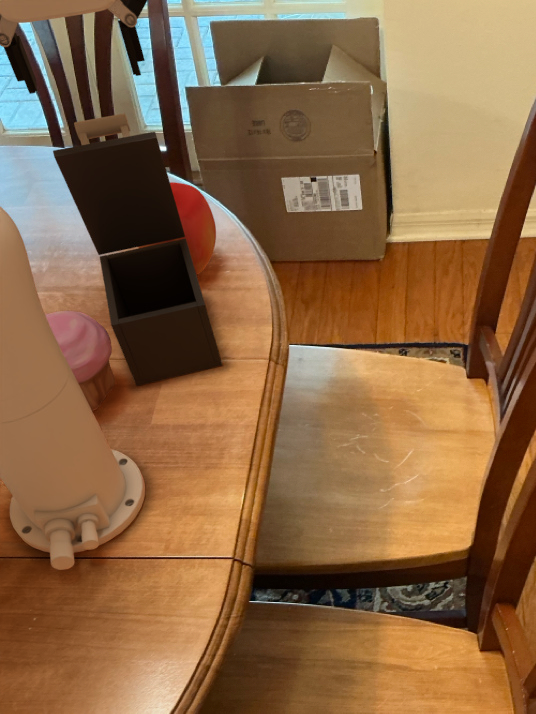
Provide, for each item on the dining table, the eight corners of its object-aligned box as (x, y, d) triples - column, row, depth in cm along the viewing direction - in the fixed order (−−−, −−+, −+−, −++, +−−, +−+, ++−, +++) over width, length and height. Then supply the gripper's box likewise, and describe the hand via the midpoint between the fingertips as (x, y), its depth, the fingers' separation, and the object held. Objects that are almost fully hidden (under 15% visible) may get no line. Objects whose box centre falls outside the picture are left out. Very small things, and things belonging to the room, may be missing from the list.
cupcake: (103, 432, 80) (67, 358, 72) (31, 417, 82) (-13, 343, 74) (143, 375, 85) (112, 300, 77) (74, 363, 87) (37, 288, 79)
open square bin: (222, 365, 86) (205, 304, 79) (136, 386, 84) (111, 325, 78) (203, 299, 93) (185, 238, 86) (123, 317, 91) (99, 256, 85)
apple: (185, 239, 101) (164, 164, 92) (241, 261, 97) (224, 185, 89) (133, 278, 96) (106, 203, 88) (190, 302, 93) (167, 227, 85)
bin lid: (156, 137, 73) (143, 92, 75) (54, 156, 72) (43, 110, 73) (185, 237, 86) (173, 197, 88) (98, 255, 84) (88, 214, 86)
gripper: (-118, -135, 56) (-9, 112, 69) (123, -162, 59) (181, 79, 72) (-111, -159, 60) (-10, 78, 74) (113, -183, 63) (170, 48, 77)
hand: (85, 78), depth 73 cm, fingers open, 9 cm apart
